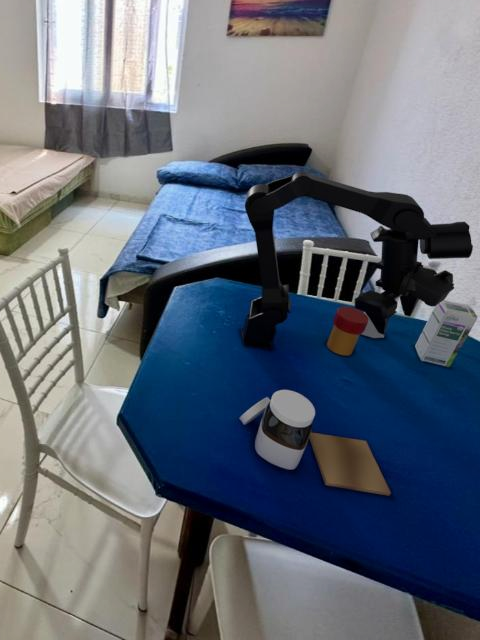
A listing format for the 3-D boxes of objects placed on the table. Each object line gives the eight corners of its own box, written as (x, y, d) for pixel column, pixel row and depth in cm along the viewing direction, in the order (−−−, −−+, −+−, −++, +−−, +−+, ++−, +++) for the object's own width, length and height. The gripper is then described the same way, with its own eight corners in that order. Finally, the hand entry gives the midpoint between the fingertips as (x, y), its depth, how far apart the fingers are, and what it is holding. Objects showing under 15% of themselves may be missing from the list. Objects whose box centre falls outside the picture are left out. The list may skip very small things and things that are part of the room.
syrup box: (420, 361, 96) (447, 311, 89) (413, 345, 101) (438, 297, 94) (449, 368, 94) (479, 317, 87) (441, 352, 99) (469, 303, 92)
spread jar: (294, 483, 68) (314, 437, 63) (227, 450, 73) (240, 405, 68) (304, 432, 77) (322, 388, 72) (244, 406, 82) (257, 363, 77)
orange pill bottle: (331, 353, 97) (343, 322, 93) (323, 338, 102) (335, 308, 97) (356, 357, 96) (370, 325, 92) (347, 341, 101) (360, 310, 97)
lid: (338, 332, 94) (343, 321, 92) (329, 316, 99) (333, 305, 98) (368, 336, 93) (373, 324, 91) (357, 319, 98) (362, 308, 97)
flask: (389, 341, 102) (404, 308, 97) (357, 336, 103) (371, 304, 98) (377, 323, 108) (391, 292, 103) (348, 319, 109) (360, 288, 105)
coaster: (325, 485, 68) (326, 482, 68) (307, 434, 77) (309, 431, 76) (389, 496, 67) (391, 493, 66) (364, 443, 75) (366, 440, 75)
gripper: (417, 289, 70) (411, 361, 76) (474, 251, 77) (465, 320, 83) (353, 271, 80) (352, 337, 86) (409, 239, 87) (404, 302, 92)
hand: (394, 324), depth 86 cm, fingers open, 9 cm apart
